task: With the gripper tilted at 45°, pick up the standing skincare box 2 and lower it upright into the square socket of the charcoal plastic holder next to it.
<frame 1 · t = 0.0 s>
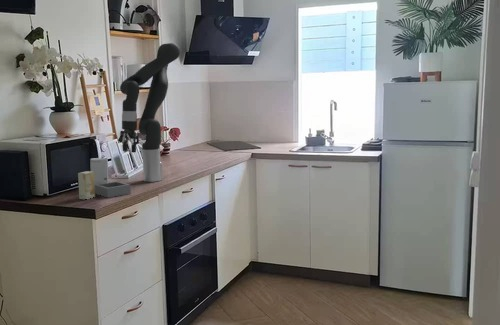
hand: (129, 151, 259), 17 cm above the worktop, tool pointing down, fingers open, 8 cm apart
skincare box: (100, 187, 255), on the worktop
holder: (113, 194, 239), on the worktop
skincare box 2: (87, 198, 231), on the worktop
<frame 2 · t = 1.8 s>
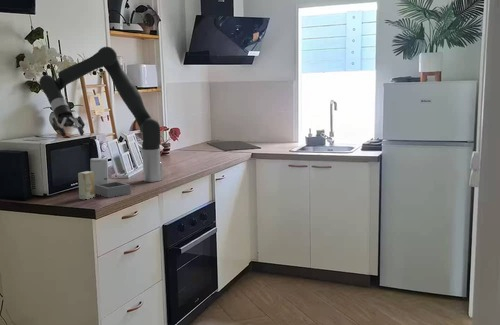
hand: (73, 135, 234), 29 cm above the worktop, tool tilted 45°, fingers open, 8 cm apart
nothing on the worktop moved.
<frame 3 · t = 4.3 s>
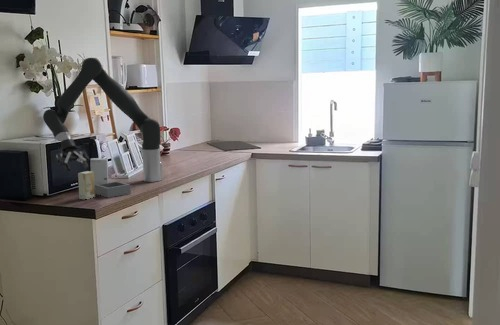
hand: (78, 169, 234), 12 cm above the worktop, tool tilted 45°, fingers open, 8 cm apart
nothing on the worktop moved.
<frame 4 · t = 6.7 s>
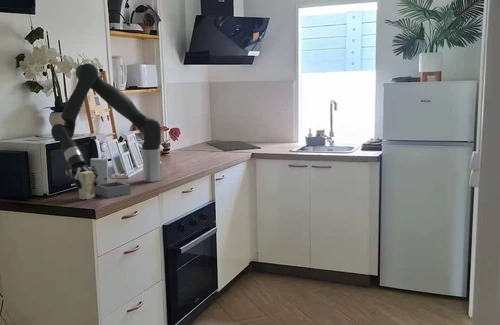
hand: (88, 186, 229), 6 cm above the worktop, tool tilted 45°, fingers closed on skincare box 2, 7 cm apart
skincare box 2: (87, 198, 231), on the worktop, touching gripper
everything else where it was.
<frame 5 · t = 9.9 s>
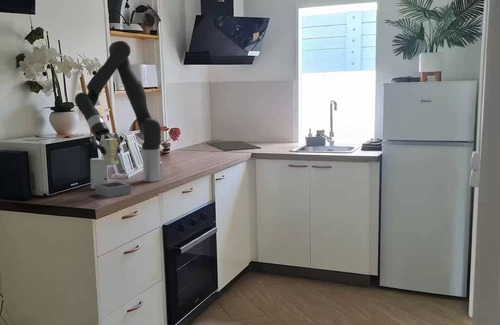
hand: (112, 152, 235), 20 cm above the worktop, tool tilted 45°, fingers closed on skincare box 2, 7 cm apart
skincare box 2: (111, 165, 237), point 14 cm above the worktop, touching gripper
everything else where it was.
when the fingers open (7 cm above the worktop, at t = 13.4 s): skincare box 2 stays where it is, resting on holder.
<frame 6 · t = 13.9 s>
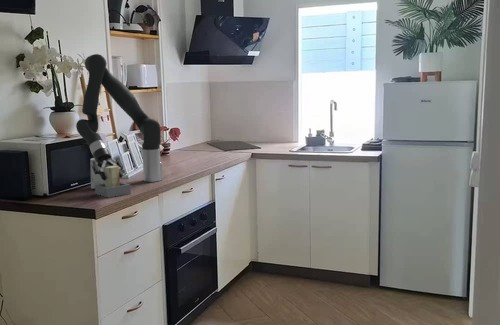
hand: (113, 178, 237), 8 cm above the worktop, tool tilted 45°, fingers open, 8 cm apart
skincare box 2: (113, 192, 239), point 1 cm above the worktop, touching holder
everything else where it was.
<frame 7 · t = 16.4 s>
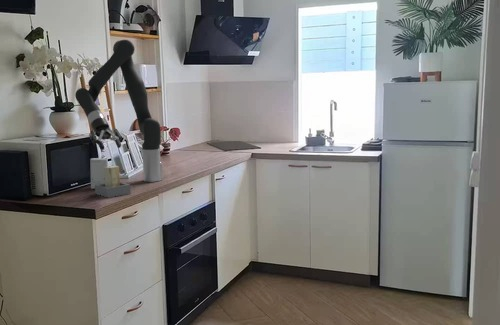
hand: (111, 147, 235), 22 cm above the worktop, tool tilted 45°, fingers open, 8 cm apart
nothing on the worktop moved.
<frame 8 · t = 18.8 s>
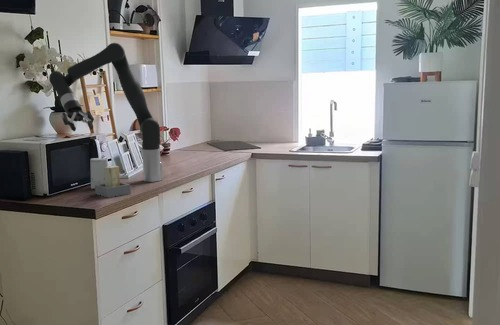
hand: (83, 129, 239), 31 cm above the worktop, tool tilted 45°, fingers open, 8 cm apart
nothing on the worktop moved.
at the end: skincare box 2 0.2 cm off-centre on the holder, point 0.8 cm above the holder's base; skincare box 2 tilted 0°; the gripper is holding nothing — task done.
